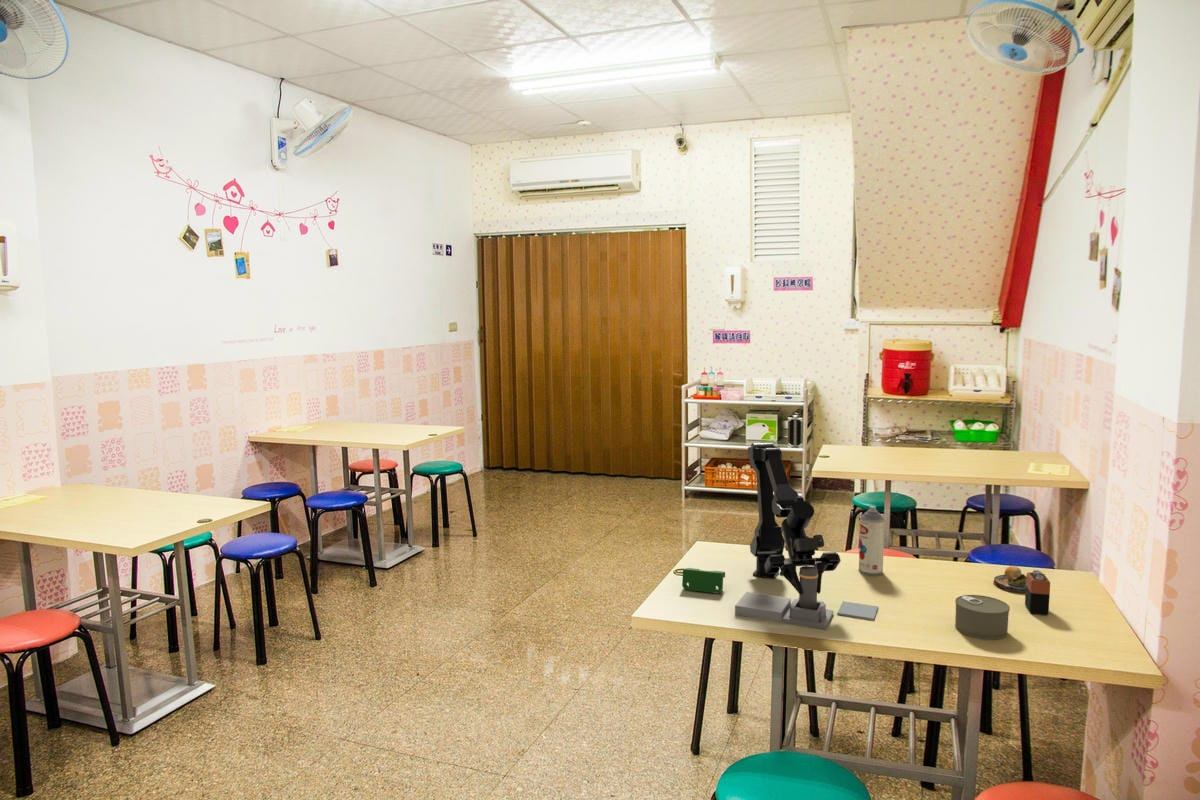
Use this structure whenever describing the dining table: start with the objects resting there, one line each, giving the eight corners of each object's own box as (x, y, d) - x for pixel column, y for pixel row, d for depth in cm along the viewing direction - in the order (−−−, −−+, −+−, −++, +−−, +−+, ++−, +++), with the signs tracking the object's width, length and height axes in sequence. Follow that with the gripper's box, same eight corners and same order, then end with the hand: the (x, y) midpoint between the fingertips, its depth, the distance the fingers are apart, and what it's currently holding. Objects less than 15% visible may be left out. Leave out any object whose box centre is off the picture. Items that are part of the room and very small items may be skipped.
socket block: (746, 600, 215) (746, 588, 214) (833, 614, 205) (833, 601, 205) (734, 614, 205) (735, 601, 205) (825, 629, 195) (826, 615, 195)
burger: (1043, 597, 216) (1045, 570, 216) (996, 592, 221) (997, 566, 220) (1036, 582, 228) (1037, 557, 227) (991, 578, 232) (992, 553, 231)
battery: (1042, 606, 209) (1044, 570, 208) (1048, 616, 202) (1051, 578, 201) (1024, 604, 210) (1026, 568, 209) (1029, 614, 204) (1032, 576, 203)
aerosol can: (855, 568, 241) (857, 503, 238) (877, 567, 241) (880, 503, 238) (863, 575, 234) (865, 509, 232) (886, 575, 234) (888, 509, 232)
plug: (800, 613, 206) (801, 565, 204) (818, 616, 203) (819, 567, 202) (796, 619, 201) (797, 570, 200) (815, 623, 199) (816, 573, 198)
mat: (842, 602, 213) (842, 601, 212) (878, 608, 209) (878, 606, 209) (837, 614, 204) (837, 612, 204) (873, 620, 201) (873, 618, 201)
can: (983, 644, 186) (985, 616, 185) (943, 625, 197) (944, 599, 196) (1019, 635, 191) (1021, 608, 190) (978, 617, 202) (979, 591, 201)
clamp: (717, 603, 225) (731, 574, 225) (713, 605, 219) (727, 576, 219) (680, 582, 229) (694, 554, 229) (675, 583, 224) (689, 555, 224)
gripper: (768, 524, 203) (782, 581, 193) (838, 522, 205) (855, 577, 195) (758, 545, 211) (771, 600, 202) (826, 542, 213) (841, 596, 204)
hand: (810, 593), depth 200 cm, fingers closed on plug, 4 cm apart
